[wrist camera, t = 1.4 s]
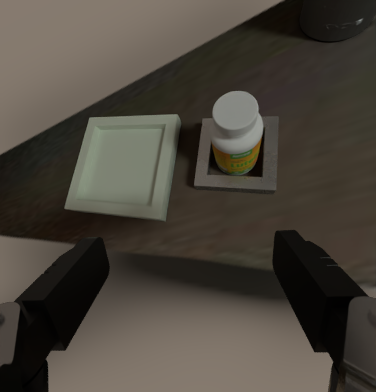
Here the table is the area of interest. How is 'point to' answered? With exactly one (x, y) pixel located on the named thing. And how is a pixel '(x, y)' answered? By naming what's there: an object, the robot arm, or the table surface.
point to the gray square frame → (239, 183)
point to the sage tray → (126, 166)
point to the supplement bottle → (236, 132)
